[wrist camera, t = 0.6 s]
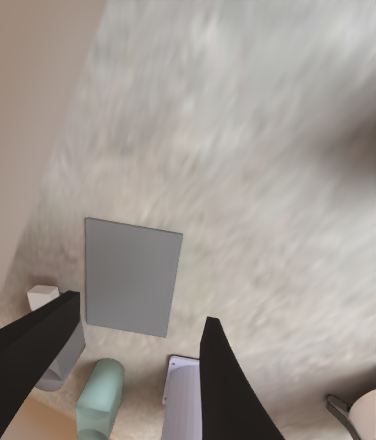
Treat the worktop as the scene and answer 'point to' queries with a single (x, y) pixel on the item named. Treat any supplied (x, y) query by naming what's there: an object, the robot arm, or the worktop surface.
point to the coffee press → (357, 415)
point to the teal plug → (100, 401)
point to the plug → (70, 351)
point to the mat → (130, 276)
